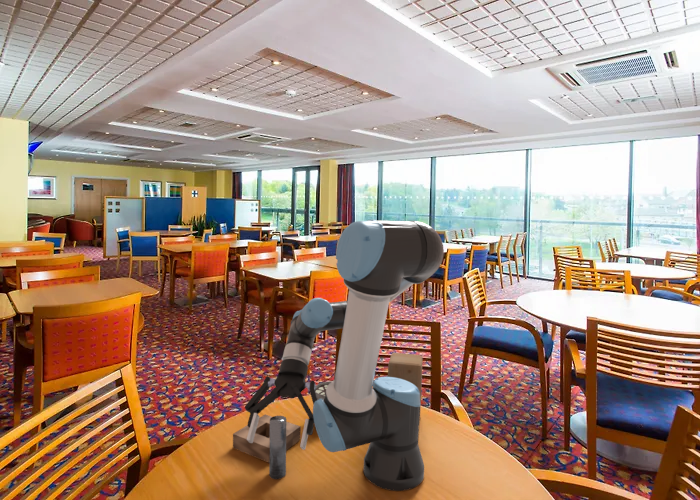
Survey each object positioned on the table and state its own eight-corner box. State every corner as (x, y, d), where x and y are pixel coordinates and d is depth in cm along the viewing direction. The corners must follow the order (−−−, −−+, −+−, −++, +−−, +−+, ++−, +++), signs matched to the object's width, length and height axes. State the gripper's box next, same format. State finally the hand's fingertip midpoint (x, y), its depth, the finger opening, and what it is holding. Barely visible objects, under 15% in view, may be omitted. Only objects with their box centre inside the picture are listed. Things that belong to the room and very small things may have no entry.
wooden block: (419, 430, 126) (421, 365, 124) (385, 425, 128) (388, 362, 126) (420, 414, 136) (422, 354, 134) (389, 410, 138) (391, 351, 136)
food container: (316, 408, 138) (317, 379, 137) (335, 410, 137) (335, 380, 136) (307, 427, 126) (308, 395, 125) (328, 429, 125) (328, 397, 124)
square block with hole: (300, 439, 119) (300, 426, 119) (270, 463, 108) (270, 448, 108) (264, 427, 126) (265, 414, 125) (233, 447, 114) (232, 433, 114)
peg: (289, 472, 104) (289, 418, 103) (278, 481, 101) (279, 425, 100) (276, 467, 106) (276, 414, 105) (265, 475, 103) (266, 420, 102)
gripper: (341, 373, 117) (327, 455, 104) (256, 365, 121) (232, 443, 108) (337, 361, 111) (323, 446, 98) (248, 353, 115) (223, 434, 102)
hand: (275, 444), depth 103 cm, fingers open, 13 cm apart
